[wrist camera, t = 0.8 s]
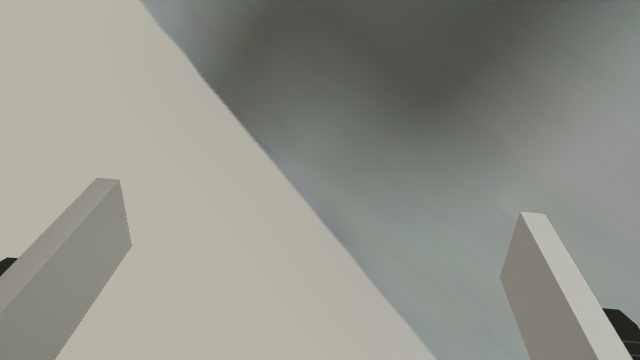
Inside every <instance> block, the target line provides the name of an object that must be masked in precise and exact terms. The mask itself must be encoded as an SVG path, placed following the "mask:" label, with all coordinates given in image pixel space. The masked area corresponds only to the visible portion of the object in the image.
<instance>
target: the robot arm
mask: <svg viewBox="0 0 640 360" xmlns="http://www.w3.org/2000/svg"><path fill="white" fill-rule="evenodd" d="M131 246H132V244H131V239H130V234H129V228H128V223H127V217H126V212H125V207H124V202H123V196H122V191H121V185H120V180H116V179H104V178H96V179H95V181H94V182H92V184H90V186H89V187H88V188H87V189H86V190H85V191H84V192H83V193H82V194H81V195H80V196H79V197H78V198H77V199H76V200H75V201H74V202H73V203H72V204H71V205H70V206H69V207H68V208H67V209H66V210H65V211H64V212H63V213H62V214H61V215H60V216H59V217H58V218H57V219H56V220H55V221H54V222H53V223H52V224H51V225H50V226H49V227H48V228H47V229H46V230H45V231H44V233H43V234H42V235H41V236H40V237H39V238H38V239H37V240H36V241H35V242H34V243H33V244H32V245H31V246H30V247H29V248H28V249H27V250H26V251H25V252H24V253H23V254H22V255H21V256H20V257H19V258H6V259H4V260H2V261H1V262H0V360H55V359H56V357H57V356H58V354H59V353H60V351H61V349H62V348H63V347H64V345H65V344H66V342H67V341H68V339H69V338H70V337H71V335H72V334H73V332H74V331H75V329H76V328H77V326H78V325H79V323H80V322H81V320H82V319H83V317H84V316H85V314H86V313H87V311H88V310H89V308H90V307H91V306H92V304H93V303H94V301H95V300H96V298H97V296H98V295H99V294H100V292H101V291H102V289H103V288H104V286H105V285H106V283H107V282H108V280H109V279H110V277H111V276H112V274H113V273H114V272H115V270H116V269H117V267H118V266H119V264H120V263H121V261H122V260H123V258H124V257H125V255H126V254H127V252H128V251H129V249H130V248H131ZM500 279H501V282H502V284H503V287H504V290H505V292H506V295H507V298H508V300H509V303H510V305H511V308H512V311H513V313H514V316H515V319H516V321H517V324H518V326H519V329H520V332H521V334H522V337H523V340H524V342H525V345H526V348H527V350H528V353H529V355H530V358H531V360H640V329H639V328H638V326H637V325H636V324H635V323H634V322H633V321H632V320H630V319H629V318H628V317H627V316H626V315H625V314H624V313H622V312H621V311H620V310H616V309H605V308H601V306H600V305H599V303H598V301H597V300H596V298H595V296H594V295H593V293H592V291H591V290H590V288H589V286H588V285H587V283H586V281H585V280H584V278H583V277H582V275H581V273H580V272H579V270H578V268H577V267H576V265H575V263H574V262H573V260H572V258H571V257H570V255H569V253H568V252H567V250H566V248H565V247H564V245H563V244H562V242H561V240H560V239H559V237H558V235H557V234H556V232H555V230H554V229H553V227H552V225H551V224H550V222H549V220H548V219H547V217H546V215H545V214H541V213H528V212H520V214H519V218H518V221H517V224H516V227H515V230H514V234H513V237H512V240H511V243H510V247H509V250H508V253H507V256H506V259H505V263H504V266H503V269H502V272H501V276H500Z"/></svg>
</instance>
